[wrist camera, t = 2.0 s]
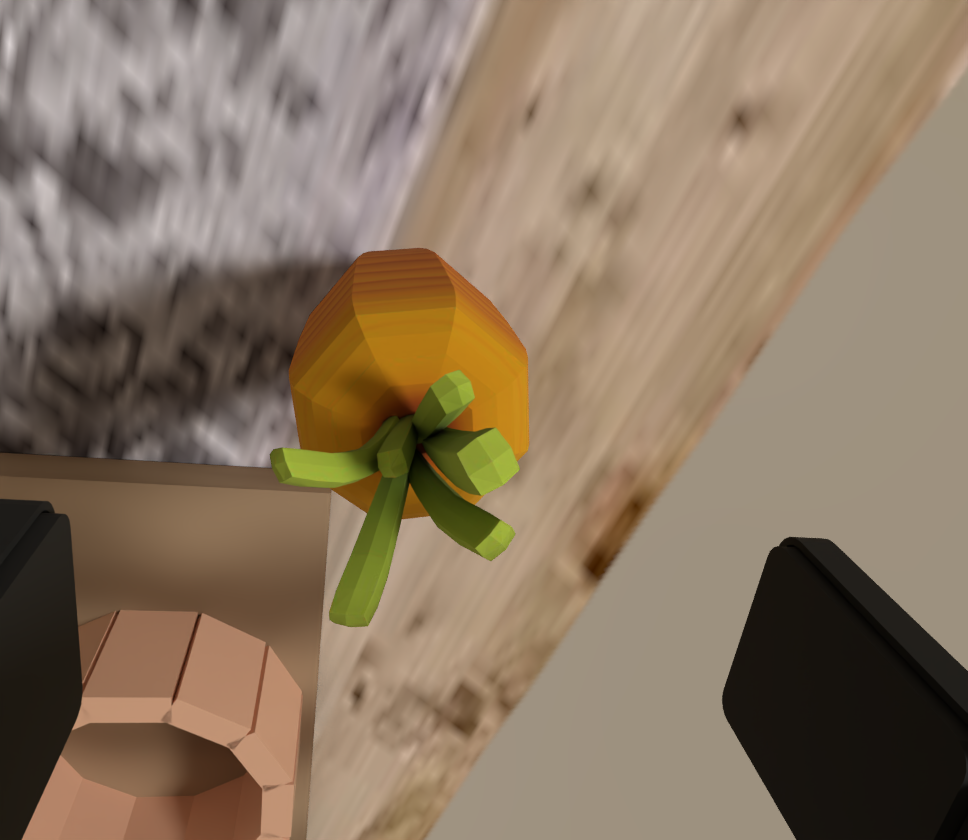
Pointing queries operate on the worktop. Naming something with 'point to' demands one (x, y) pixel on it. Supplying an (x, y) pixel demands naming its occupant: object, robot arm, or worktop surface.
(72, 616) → the robot arm
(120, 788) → the walnut board
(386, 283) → the carrot
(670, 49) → the worktop surface
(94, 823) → the terracotta cup
